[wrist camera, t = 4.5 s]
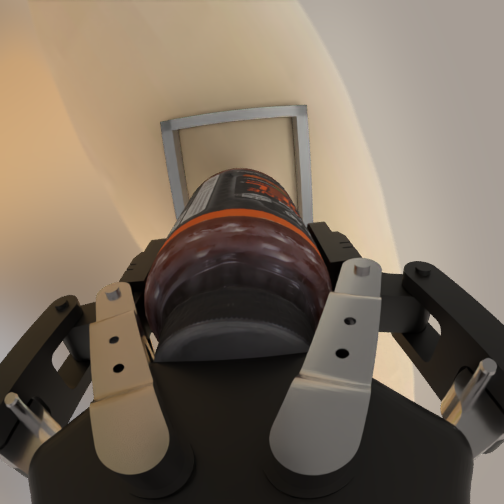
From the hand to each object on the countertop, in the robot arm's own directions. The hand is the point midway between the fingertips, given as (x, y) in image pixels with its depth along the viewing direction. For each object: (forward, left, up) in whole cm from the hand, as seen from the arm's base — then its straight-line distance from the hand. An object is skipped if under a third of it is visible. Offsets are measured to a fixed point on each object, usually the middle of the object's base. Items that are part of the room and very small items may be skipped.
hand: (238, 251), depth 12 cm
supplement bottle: (0, 0, -4) cm, 4 cm away
